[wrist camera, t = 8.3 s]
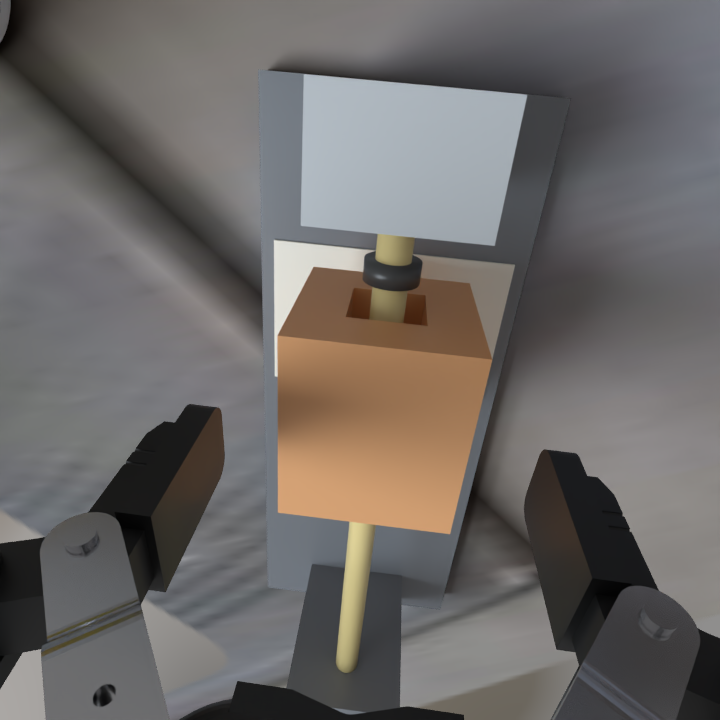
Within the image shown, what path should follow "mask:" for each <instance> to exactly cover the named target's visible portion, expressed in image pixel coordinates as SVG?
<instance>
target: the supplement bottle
mask: <svg viewBox="0 0 720 720" xmlns="http://www.w3.org/2000/svg"><path fill="white" fill-rule="evenodd" d="M10 8H11V0H0V42H1V41H2V39H3V37H4V35H5V32H6V30H7V26H8V22H9V16H10Z"/></svg>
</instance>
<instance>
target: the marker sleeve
mask: <svg viewBox="0 0 720 720" xmlns="http://www.w3.org/2000/svg"><path fill="white" fill-rule="evenodd" d="M371 296H372V286H369V285H368V284H366V283H365V282H364V281H363V272H359V271H350V270H341V269H331V268H322V267H313V269H312V271H311V273H310V275H309V276H308V278H307V280H306V282H305V284H304V286H303V288H302V290H301V292H300V294H299V295H298V297H297V299H296V301H295V303H294V305H293V307H292V309H291V311H290V313H289V315H288V316H287V318H286V320H285V322H284V324H283V326H282V328H281V330H280V332H279V334H278V336H277V359H278V513H285V514H293V515H301V516H309V517H317V518H325V519H333V520H341V521H349V522H357V523H365V524H373V525H380V526H388V527H396V528H404V529H412V530H420V531H428V532H436V533H444V534H450V532H451V528H452V524H453V520H454V516H455V512H456V508H457V503H458V499H459V495H460V491H461V487H462V483H463V479H464V475H465V470H466V466H467V462H468V458H469V454H470V450H471V446H472V442H473V437H474V433H475V429H476V425H477V421H478V417H479V413H480V409H481V404H482V400H483V396H484V392H485V388H486V384H487V380H488V376H489V372H490V367H491V363H492V357H491V353H490V350H489V347H488V343H487V340H486V337H485V333H484V330H483V326H482V323H481V320H480V316H479V313H478V310H477V306H476V303H475V300H474V296H473V293H472V289H471V286H470V283H463V282H454V281H444V280H435V279H425V278H420V285H419V286H418V287H417V288H416V289H413V290H409V291H408V293H407V301H406V308H405V315H404V323H396V322H387V321H378V320H369V317H370V307H371Z"/></svg>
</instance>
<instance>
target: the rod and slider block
mask: <svg viewBox="0 0 720 720" xmlns="http://www.w3.org/2000/svg"><path fill="white" fill-rule="evenodd" d="M258 79H259V133H260V187H261V242H262V296H263V350H264V404H265V458H266V512H267V567H268V587H270V588H278V589H286V590H293V591H301V592H306V595H305V600H304V605H303V610H302V615H301V620H300V625H299V630H298V635H297V639H296V644H295V649H294V654H293V659H292V664H291V669H290V674H289V679H288V684H287V689H293V690H295V691H297V692H299V693H301V694H303V695H305V696H308V697H310V698H312V699H314V700H316V701H318V702H320V703H323V704H325V705H327V706H329V707H331V708H333V709H335V710H338V711H340V712H342V713H345V714H359V713H366V712H373V711H380V710H387V709H393V708H400V660H401V605H408V606H415V607H423V608H431V609H438V610H440V608H441V604H442V600H443V597H444V593H445V589H446V585H447V581H448V577H449V573H450V569H451V565H452V561H453V558H454V554H455V550H456V546H457V542H458V538H459V534H460V530H461V526H462V522H463V518H464V515H465V511H466V507H467V503H468V499H469V495H470V491H471V487H472V483H473V479H474V476H475V472H476V468H477V464H478V460H479V456H480V452H481V448H482V444H483V440H484V436H485V433H486V429H487V425H488V421H489V417H490V413H491V409H492V405H493V401H494V397H495V394H496V390H497V386H498V382H499V378H500V374H501V370H502V366H503V362H504V358H505V354H506V351H507V347H508V343H509V339H510V335H511V331H512V327H513V323H514V319H515V315H516V312H517V308H518V304H519V300H520V296H521V292H522V288H523V284H524V280H525V276H526V272H527V269H528V265H529V261H530V257H531V253H532V249H533V245H534V241H535V237H536V233H537V230H538V226H539V222H540V218H541V214H542V210H543V206H544V202H545V198H546V194H547V190H548V187H549V183H550V179H551V175H552V171H553V167H554V163H555V159H556V155H557V151H558V148H559V144H560V140H561V136H562V132H563V128H564V124H565V120H566V116H567V112H568V108H569V105H570V101H571V98H563V97H552V96H541V95H530V94H519V93H509V92H498V91H487V90H476V89H465V88H454V87H443V86H432V85H421V84H410V83H399V82H388V81H378V80H367V79H356V78H345V77H334V76H323V75H312V74H301V73H290V72H279V71H268V70H258ZM313 267H322V268H331V269H341V270H350V271H359V272H363V281H364V282H365V283H366V284H368V285H369V286H372V296H371V307H370V317H369V320H378V321H387V322H396V323H404V315H405V308H406V301H407V293H408V291H409V290H413V289H416V288H417V287H418V286H419V285H420V278H425V279H435V280H444V281H454V282H463V283H470V286H471V289H472V293H473V296H474V300H475V303H476V306H477V310H478V313H479V316H480V320H481V323H482V326H483V330H484V333H485V337H486V340H487V343H488V347H489V350H490V353H491V357H492V363H491V367H490V372H489V376H488V380H487V384H486V388H485V392H484V396H483V400H482V404H481V409H480V413H479V417H478V421H477V425H476V429H475V433H474V437H473V442H472V446H471V450H470V454H469V458H468V462H467V466H466V470H465V475H464V479H463V483H462V487H461V491H460V495H459V499H458V503H457V508H456V512H455V516H454V520H453V524H452V528H451V532H450V534H444V533H436V532H428V531H420V530H412V529H404V528H396V527H388V526H380V525H373V524H365V523H357V522H349V521H341V520H333V519H325V518H317V517H309V516H301V515H293V514H285V513H278V359H277V336H278V334H279V332H280V330H281V328H282V326H283V324H284V322H285V320H286V318H287V316H288V315H289V313H290V311H291V309H292V307H293V305H294V303H295V301H296V299H297V297H298V295H299V294H300V292H301V290H302V288H303V286H304V284H305V282H306V280H307V278H308V276H309V275H310V273H311V271H312V269H313Z"/></svg>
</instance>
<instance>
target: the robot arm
mask: <svg viewBox="0 0 720 720" xmlns="http://www.w3.org/2000/svg"><path fill="white" fill-rule="evenodd" d="M224 459H225V452H224V439H223V426H222V414H221V410H220V408H217V407H209V406H201V405H193V404H189V405H187V406H186V407H185V409H184V410H183V412H182V413H181V415H180V416H179V418H178V419H177V421H176V422H175V423H173V422H163V423H162V424H160V425H159V426H157V427H156V428H154V429H153V430H151V431H150V432H148V433H147V434H146V435H145V437H144V438H143V439H142V441H141V442H140V443H139V445H138V446H137V447H136V450H135V452H133V453H132V454H131V455H130V457H129V458H128V459H127V461H126V464H124V465H123V466H122V468H121V469H120V470H119V472H118V473H117V474H116V476H115V477H114V478H113V480H112V481H111V482H110V484H109V485H108V486H107V488H106V489H105V491H104V492H103V493H102V495H101V496H100V497H99V499H98V500H97V501H96V503H95V504H94V505H93V507H92V508H91V509H90V511H89V512H88V513H83V514H80V515H76V516H74V517H71V518H69V519H67V520H65V521H63V522H62V523H60V524H58V525H57V526H56V527H55V528H53V529H52V530H51V531H50V532H49V533H48V535H47V536H46V537H43V538H38V539H31V540H24V541H16V542H8V543H1V544H0V688H1V687H2V685H3V684H4V682H5V680H6V679H7V677H8V676H9V674H10V672H11V670H12V669H13V667H14V666H15V664H16V662H17V661H18V659H19V658H20V656H21V654H22V653H23V652H28V651H33V650H38V649H41V661H42V674H43V687H44V701H45V714H46V720H170V718H169V714H168V710H167V706H166V702H165V698H164V695H163V691H162V687H161V683H160V679H159V675H158V671H157V667H156V663H155V659H154V655H153V652H152V647H151V643H150V640H149V636H148V632H147V628H146V624H145V620H144V616H143V612H142V609H141V603H142V601H143V599H144V597H145V595H146V593H147V591H148V590H154V591H161V592H166V590H167V588H168V586H169V584H170V582H171V580H172V577H173V575H174V573H175V571H176V569H177V567H178V565H179V563H180V561H181V559H182V557H183V555H184V552H185V550H186V548H187V546H188V544H189V542H190V540H191V538H192V536H193V534H194V532H195V530H196V527H197V525H198V523H199V521H200V519H201V517H202V515H203V513H204V511H205V509H206V507H207V505H208V502H209V500H210V498H211V496H212V494H213V492H214V490H215V488H216V486H217V484H218V482H219V480H220V477H221V474H222V471H223V466H224ZM524 514H525V521H526V525H527V530H528V534H529V538H530V542H531V546H532V550H533V554H534V558H535V563H536V567H537V571H538V575H539V579H540V583H541V587H542V592H543V596H544V600H545V604H546V608H547V612H548V616H549V620H550V625H551V629H552V633H553V637H554V641H555V645H556V649H557V650H564V651H571V652H576V656H577V659H578V663H579V667H578V669H577V671H576V672H575V674H574V676H573V678H572V680H571V682H570V684H569V686H568V687H567V689H566V691H565V693H564V695H563V697H562V699H561V701H560V703H559V704H558V706H557V708H556V710H555V712H554V714H553V716H552V718H551V720H720V638H718V637H715V636H713V635H710V634H708V633H706V632H704V631H702V630H700V629H698V628H697V627H696V624H695V622H694V621H693V619H692V618H691V616H690V615H689V614H688V613H687V611H686V610H685V609H684V608H683V607H682V606H681V605H680V604H678V603H677V602H676V601H675V600H673V599H672V598H671V597H669V596H668V595H666V594H664V593H662V592H660V591H659V590H658V588H657V586H656V584H655V582H654V579H653V577H652V575H651V573H650V571H649V569H648V567H647V564H646V562H645V560H644V558H643V556H642V554H641V551H640V549H639V547H638V545H637V543H636V541H635V539H634V536H633V534H632V532H630V531H629V529H630V528H629V526H628V524H627V521H626V519H625V517H623V516H622V511H621V509H620V506H619V504H618V502H617V500H616V498H615V496H614V494H613V493H612V492H611V491H610V490H609V489H608V488H607V487H606V486H605V485H604V484H603V482H602V481H601V480H600V479H599V478H598V477H590V476H587V475H586V472H585V470H584V467H583V465H582V463H581V460H580V458H579V456H578V455H577V454H576V453H569V452H561V451H553V450H543V451H542V452H541V454H540V456H539V459H538V462H537V464H536V467H535V470H534V473H533V476H532V479H531V482H530V485H529V487H528V490H527V493H526V497H525V504H524ZM180 720H464V715H461V714H454V713H448V712H441V711H434V710H427V709H420V708H414V707H400V708H393V709H387V710H380V711H373V712H366V713H359V714H345V713H342V712H340V711H338V710H335V709H333V708H331V707H329V706H327V705H325V704H323V703H320V702H318V701H316V700H314V699H312V698H310V697H308V696H305V695H303V694H301V693H299V692H297V691H295V690H293V689H287V688H280V687H273V686H267V685H260V684H253V683H247V682H240V681H237V684H236V688H235V691H234V695H233V698H232V699H230V700H224V701H220V702H216V703H213V704H209V705H207V706H205V707H202V708H200V709H198V710H195V711H193V712H192V713H190V714H188V715H186V716H184V717H183V718H181V719H180Z"/></svg>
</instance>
